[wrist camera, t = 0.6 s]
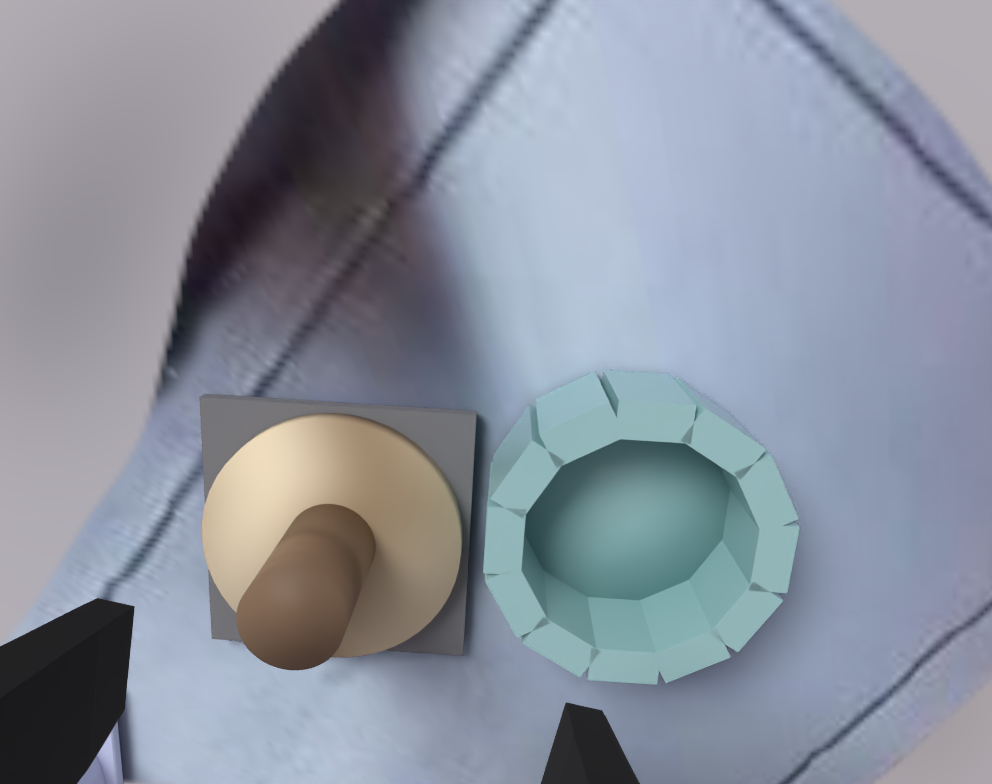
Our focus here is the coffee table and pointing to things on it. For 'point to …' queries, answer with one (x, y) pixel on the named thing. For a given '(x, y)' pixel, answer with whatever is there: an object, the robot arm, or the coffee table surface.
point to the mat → (432, 429)
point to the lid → (331, 539)
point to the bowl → (635, 529)
